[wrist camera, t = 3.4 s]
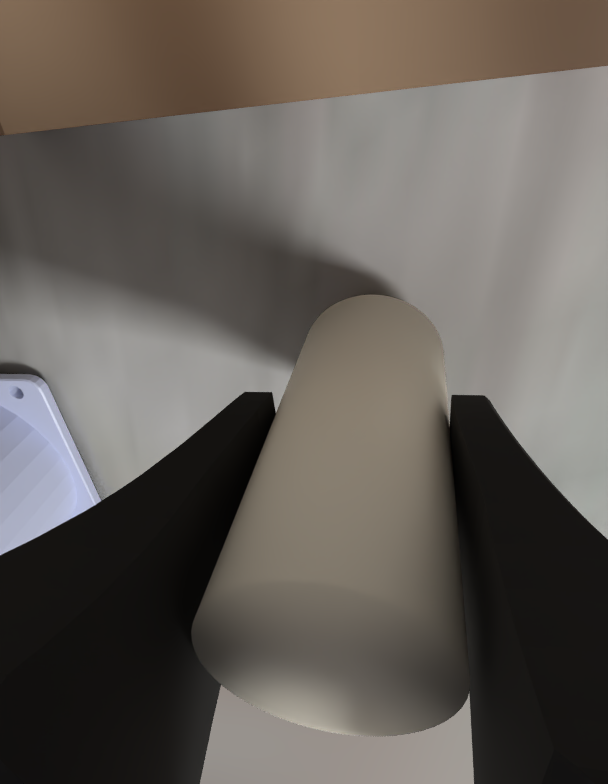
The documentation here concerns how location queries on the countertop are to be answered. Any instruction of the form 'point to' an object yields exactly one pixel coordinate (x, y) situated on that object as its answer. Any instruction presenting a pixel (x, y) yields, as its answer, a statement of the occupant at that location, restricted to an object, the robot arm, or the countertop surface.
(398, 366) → the cream peg
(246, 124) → the countertop surface
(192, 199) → the countertop surface
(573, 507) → the robot arm
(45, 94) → the keyhole board
